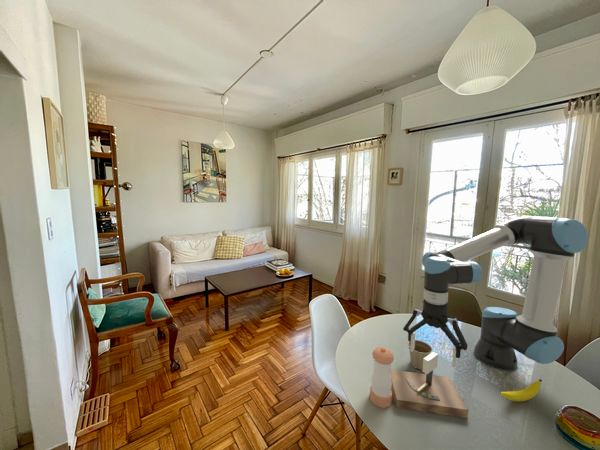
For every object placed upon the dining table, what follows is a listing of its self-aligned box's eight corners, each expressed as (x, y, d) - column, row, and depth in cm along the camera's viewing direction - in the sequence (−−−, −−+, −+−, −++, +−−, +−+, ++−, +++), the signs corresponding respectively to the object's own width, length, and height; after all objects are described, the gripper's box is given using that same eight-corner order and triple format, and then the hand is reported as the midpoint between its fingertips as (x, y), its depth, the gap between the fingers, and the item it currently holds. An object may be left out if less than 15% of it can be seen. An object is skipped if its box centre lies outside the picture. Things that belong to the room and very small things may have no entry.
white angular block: (430, 378, 93) (432, 351, 92) (436, 381, 92) (438, 354, 91) (415, 391, 87) (417, 362, 86) (420, 394, 85) (422, 365, 84)
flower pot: (434, 374, 100) (435, 354, 99) (409, 371, 102) (410, 351, 101) (427, 359, 109) (428, 341, 108) (404, 356, 111) (405, 338, 110)
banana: (494, 402, 87) (496, 385, 86) (534, 392, 92) (536, 376, 91) (503, 409, 84) (505, 391, 83) (543, 398, 89) (546, 382, 88)
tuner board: (448, 384, 95) (449, 376, 95) (467, 418, 80) (468, 409, 80) (388, 376, 99) (388, 368, 98) (396, 407, 84) (397, 398, 83)
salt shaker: (377, 410, 83) (380, 356, 81) (365, 393, 90) (368, 343, 88) (395, 405, 85) (399, 352, 83) (383, 389, 92) (386, 340, 90)
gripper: (395, 295, 92) (393, 348, 95) (477, 315, 76) (473, 378, 79) (402, 289, 98) (400, 340, 100) (479, 306, 82) (475, 366, 85)
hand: (432, 357), depth 90 cm, fingers open, 13 cm apart
